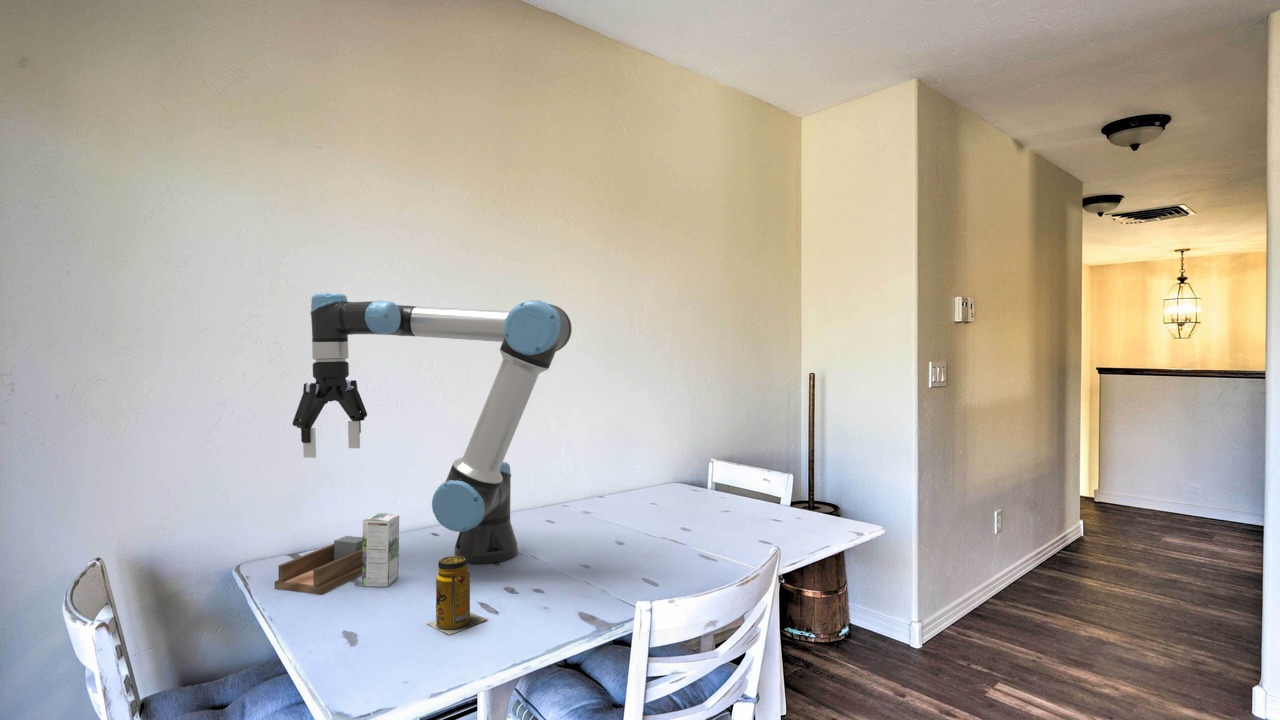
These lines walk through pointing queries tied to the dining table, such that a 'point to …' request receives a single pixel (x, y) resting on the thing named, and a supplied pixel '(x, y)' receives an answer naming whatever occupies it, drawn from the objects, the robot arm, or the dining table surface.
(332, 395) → the robot arm
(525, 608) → the dining table surface
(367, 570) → the syrup box
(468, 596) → the condiment
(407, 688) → the dining table surface
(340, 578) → the walnut tray
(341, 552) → the slate block
